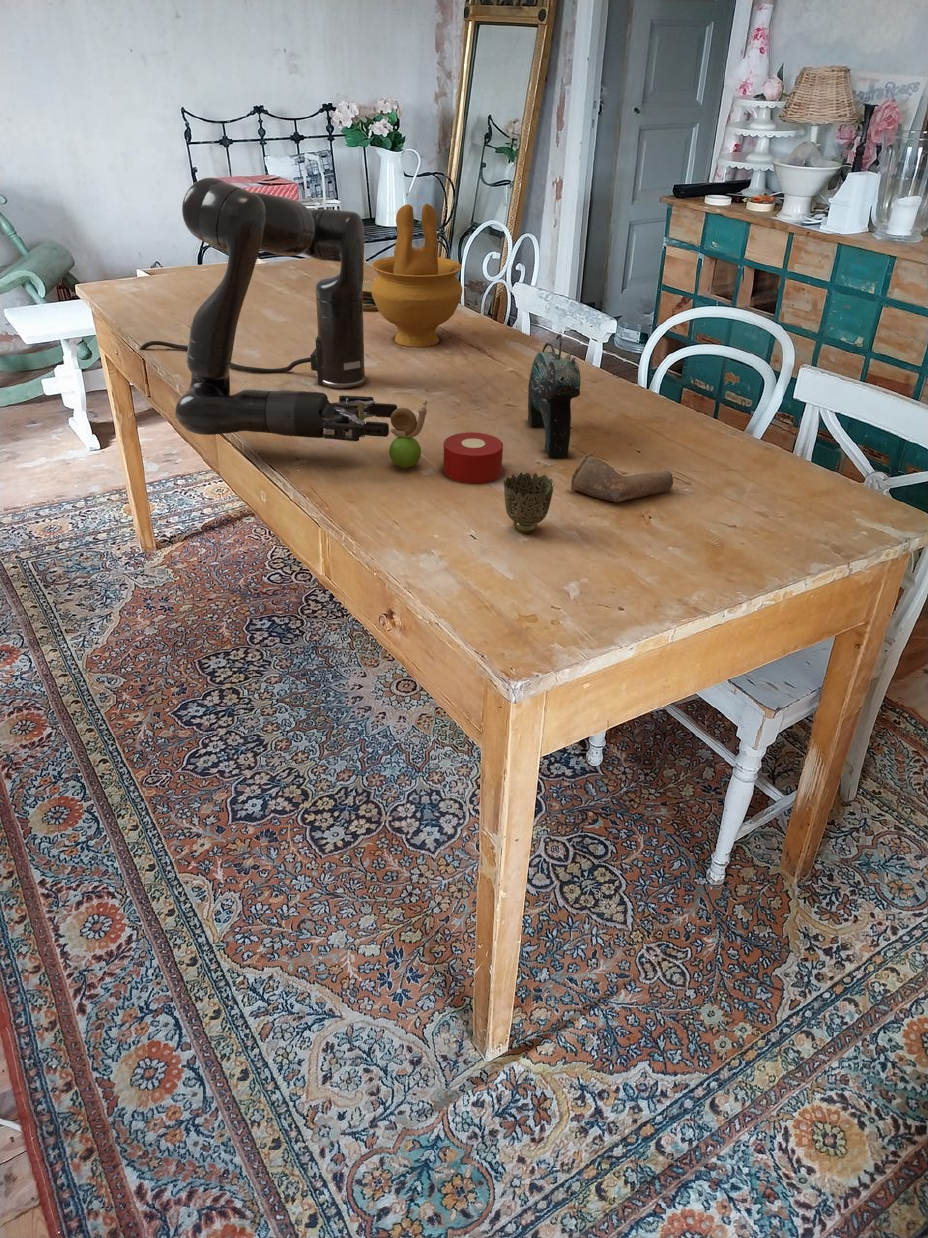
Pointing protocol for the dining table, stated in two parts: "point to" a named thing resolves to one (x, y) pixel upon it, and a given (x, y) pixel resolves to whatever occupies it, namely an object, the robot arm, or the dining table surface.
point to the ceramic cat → (553, 398)
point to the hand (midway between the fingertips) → (392, 420)
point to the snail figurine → (406, 436)
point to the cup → (527, 500)
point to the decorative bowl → (416, 282)
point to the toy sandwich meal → (368, 297)
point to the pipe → (617, 481)
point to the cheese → (472, 457)
